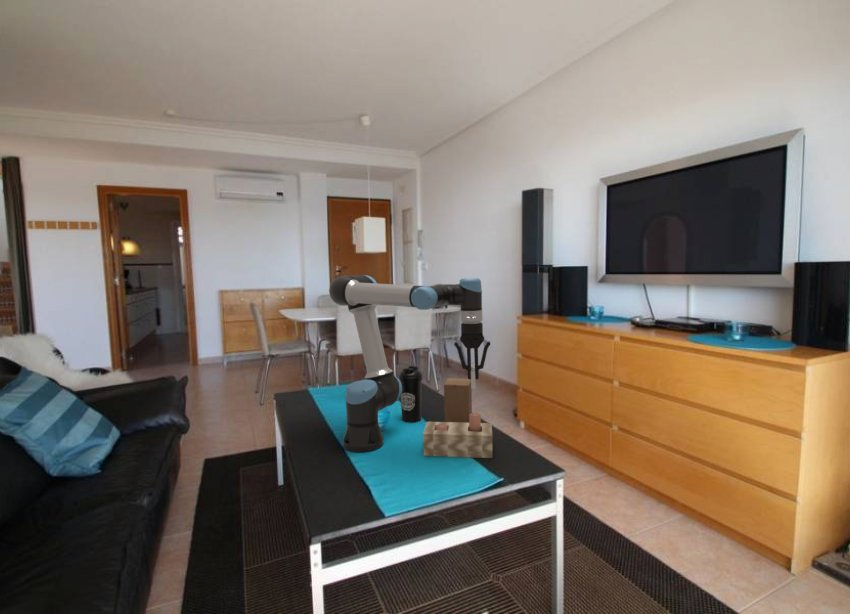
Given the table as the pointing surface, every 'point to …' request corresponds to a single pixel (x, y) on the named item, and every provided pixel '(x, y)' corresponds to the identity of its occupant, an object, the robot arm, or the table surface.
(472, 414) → the peg
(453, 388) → the wooden block
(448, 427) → the socket board
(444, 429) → the peg
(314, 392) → the table surface
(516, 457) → the table surface
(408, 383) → the water bottle
